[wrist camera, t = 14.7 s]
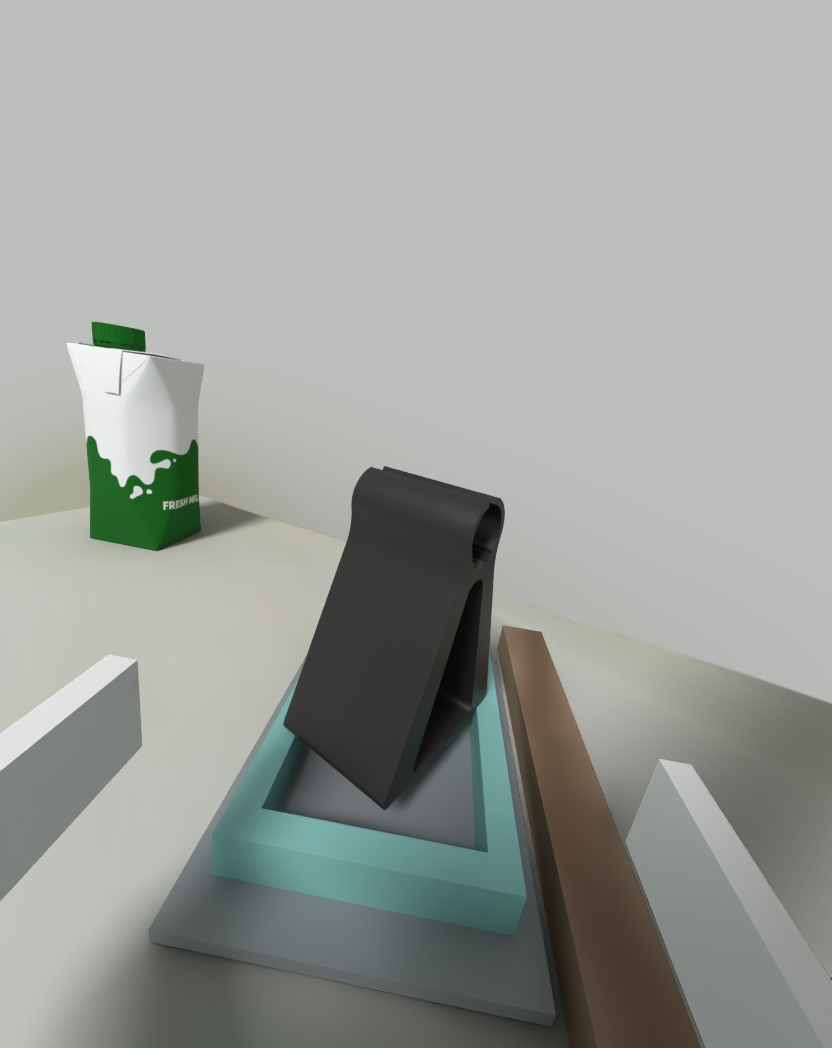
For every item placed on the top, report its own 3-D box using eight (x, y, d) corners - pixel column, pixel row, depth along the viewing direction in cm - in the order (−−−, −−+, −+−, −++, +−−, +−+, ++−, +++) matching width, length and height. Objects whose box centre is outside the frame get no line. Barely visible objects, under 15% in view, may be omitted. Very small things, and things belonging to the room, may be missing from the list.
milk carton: (141, 516, 48) (132, 331, 43) (214, 529, 48) (215, 343, 42) (72, 539, 40) (49, 313, 34) (160, 556, 39) (151, 328, 34)
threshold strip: (535, 654, 33) (541, 632, 32) (726, 1239, 10) (758, 1199, 9) (497, 647, 33) (502, 625, 32) (600, 1210, 10) (624, 1169, 9)
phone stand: (401, 650, 26) (431, 462, 23) (486, 698, 23) (536, 489, 20) (282, 729, 19) (298, 471, 15) (381, 815, 16) (430, 516, 12)
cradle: (495, 669, 30) (502, 638, 29) (551, 1027, 13) (572, 974, 12) (320, 638, 31) (322, 606, 30) (149, 941, 13) (145, 886, 13)
